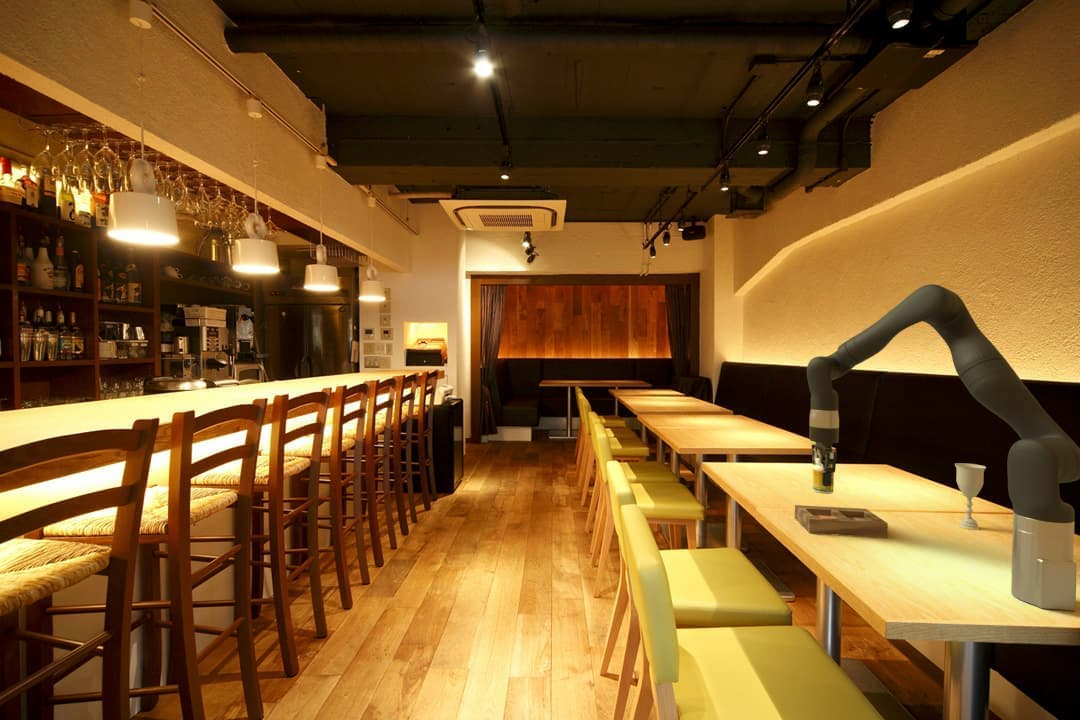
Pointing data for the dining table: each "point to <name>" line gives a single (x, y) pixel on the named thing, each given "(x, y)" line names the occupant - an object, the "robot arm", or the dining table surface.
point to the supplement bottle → (818, 480)
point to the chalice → (969, 489)
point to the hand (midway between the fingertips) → (823, 483)
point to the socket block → (841, 521)
